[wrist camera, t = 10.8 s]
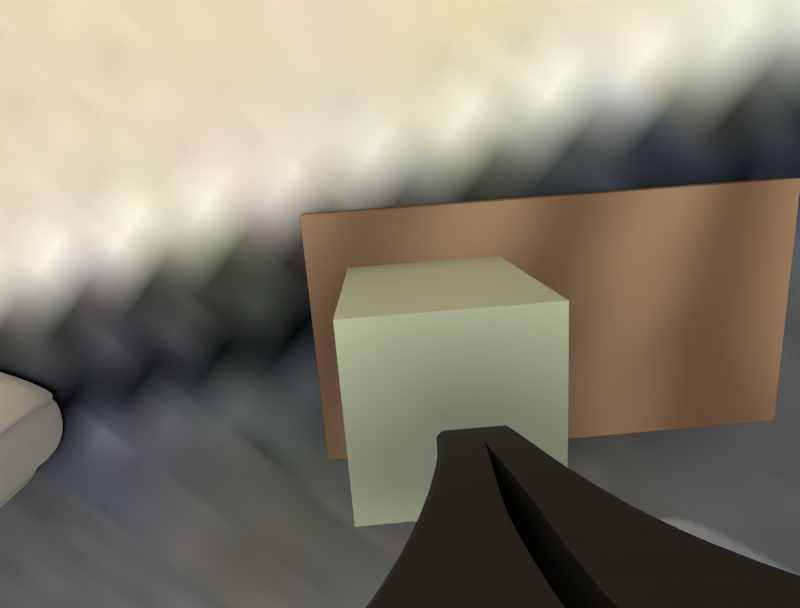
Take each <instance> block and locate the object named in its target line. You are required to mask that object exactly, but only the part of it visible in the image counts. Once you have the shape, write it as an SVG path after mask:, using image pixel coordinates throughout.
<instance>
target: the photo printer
mask: <svg viewBox="0 0 800 608" xmlns="http://www.w3.org/2000/svg"><path fill="white" fill-rule="evenodd" d="M52 398H53V395H52V393H50V392H49V391H48V390H46V389H44V388H42V387H40V386H37V385H35V384H33V383H30V382H28V381H26V380H23V379H20V378H17V377H14V376H11V375H8V374H5V373H2V372H0V507H2V506H3V505H4V504H5V503H6V502H7V501H8V500H9V499H10V498H11V497H13V496H14V495H15V494H16V493H17V492H18V491H19V490H20V489H21V488H23V487H24V486H25V485H26V484H27V483H28V482H29V481H30V480H31V478H32V477H33V476H34V474H35V471H36V469H37V468H38V467H39V466H40V465H41V464H42V463H43V462H44V461H46V460H47V459H48V458H49V457H50V456H51V455H52V454H53V452H54V451H55V450H56V448H57V446H58V445H59V442H60V440H61V436H62V429H63V421H62V416H61V412H60V409H59V407H58V404H57V403H56V402H55V401H54V400H53V399H52Z"/></svg>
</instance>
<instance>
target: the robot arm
mask: <svg viewBox="0 0 800 608" xmlns="http://www.w3.org/2000/svg"><path fill="white" fill-rule="evenodd" d="M436 438H437V455H438V456H437V462H436V467H435V471H434V475H433V478H432V482H431V486H430V489H429V492H428V495H427V498H426V500H425V503H424V505H423V508H422V510H421V513H420V516H419V518H418V521H417V523H416V525H415V527H414V529H413V532H412V534H411V536H410V538H409V540H408V542H407V543H406V545H405V547H404V549H403V551H402V553H401V555H400V556H399V558H398V560H397V562H396V563H395V565H394V566H393V568H392V570H391V571H390V573H389V574H388V576H387V578H386V579H385V581H384V582H383V584H382V586H381V587H380V589H379V590H378V592H377V593H376V594H375V596H374V597H373V599H372V600H371V602H370V603H369V604H368V606H367V607H366V608H800V576H798V575H795V574H792V573H789V572H787V571H784V570H781V569H778V568H775V567H772V566H769V565H766V564H764V563H761V562H758V561H755V560H753V559H750V558H748V557H745V556H743V555H740V554H737V553H735V552H733V551H730V550H727V549H725V548H722V547H720V546H717V545H715V544H712V543H710V542H707V541H705V540H703V539H700V538H698V537H696V536H693V535H691V534H689V533H686V532H684V531H682V530H680V529H678V528H676V527H674V526H672V525H669V524H667V523H665V522H663V521H661V520H659V519H657V518H655V517H653V516H651V515H649V514H647V513H645V512H642V511H641V510H639V509H637V508H635V507H633V506H631V505H629V504H627V503H625V502H624V501H622V500H620V499H618V498H617V497H615V496H613V495H612V494H610V493H608V492H606V491H605V490H603V489H601V488H599V487H598V486H596V485H594V484H593V483H591V482H589V481H588V480H586V479H585V478H583V477H581V476H580V475H578V474H577V473H575V472H574V471H572V470H571V469H569V468H567V467H566V466H565V465H563V464H562V463H560V462H559V461H557V460H556V459H554V458H553V457H551V456H550V455H548V454H547V453H545V452H544V451H543V450H541V449H540V448H538V447H537V446H536V445H534V444H533V443H531V442H530V441H529V440H527V439H526V438H524V437H523V436H522V435H520V434H519V433H517V432H516V431H514V430H513V429H511V428H510V427H508V426H507V425H502V426H490V427H479V428H467V429H456V430H444V431H441V432H440V434H439V435H438V436H437V437H436Z"/></svg>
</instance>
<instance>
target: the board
mask: <svg viewBox="0 0 800 608" xmlns="http://www.w3.org/2000/svg"><path fill="white" fill-rule="evenodd" d="M799 192H800V178H774V179H761V180H748V181H734V182H721V183H708V184H694V185H681V186H668V187H654V188H641V189H627V190H614V191H601V192H587V193H574V194H561V195H547V196H534V197H521V198H507V199H494V200H481V201H467V202H454V203H441V204H427V205H414V206H401V207H387V208H374V209H361V210H347V211H334V212H321V213H307V214H303V215H301V216H300V220H301V229H302V238H303V246H304V255H305V264H306V272H307V281H308V289H309V298H310V307H311V315H312V324H313V333H314V341H315V350H316V358H317V367H318V376H319V384H320V393H321V402H322V410H323V419H324V428H325V436H326V445H327V453H328V460H333V459H344V458H348V457H347V447H346V438H345V428H344V419H343V409H342V400H341V391H340V381H339V372H338V362H337V353H336V343H335V334H334V324H333V318H334V315H335V311H336V308H337V304H338V301H339V297H340V294H341V290H342V287H343V283H344V280H345V276H346V273H347V269H348V268H351V267H364V266H377V265H389V264H402V263H415V262H428V261H441V260H453V259H466V258H479V257H492V256H500V257H502V258H504V259H505V260H507V261H508V262H510V263H511V264H513V265H514V266H516V267H518V268H519V269H521V270H522V271H524V272H525V273H527V274H528V275H530V276H531V277H533V278H535V279H536V280H538V281H539V282H541V283H542V284H544V285H545V286H547V287H549V288H550V289H552V290H553V291H555V292H556V293H558V294H559V295H561V296H563V297H564V298H566V299H567V300H569V370H568V439H570V438H581V437H592V436H603V435H615V434H626V433H637V432H648V431H660V430H671V429H682V428H693V427H705V426H716V425H727V424H738V423H750V422H761V421H772V420H774V417H775V408H776V399H777V390H778V381H779V372H780V363H781V354H782V345H783V336H784V327H785V318H786V309H787V300H788V291H789V282H790V273H791V264H792V255H793V246H794V237H795V228H796V219H797V210H798V201H799Z"/></svg>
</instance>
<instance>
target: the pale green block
mask: <svg viewBox="0 0 800 608" xmlns="http://www.w3.org/2000/svg"><path fill="white" fill-rule="evenodd" d="M333 324H334V334H335V343H336V353H337V362H338V372H339V381H340V391H341V400H342V409H343V419H344V428H345V438H346V447H347V457H348V466H349V476H350V485H351V494H352V504H353V513H354V523H355V527H357V526H367V525H378V524H389V523H400V522H411V521H418V518H419V516H420V513H421V510H422V508H423V505H424V503H425V500H426V498H427V495H428V492H429V489H430V486H431V482H432V478H433V475H434V471H435V467H436V462H437V456H438V455H437V438H436V437H437V436H438V435H439V434H440V432H441V431H444V430H456V429H467V428H479V427H490V426H502V425H507V426H508V427H510V428H511V429H513V430H514V431H516V432H517V433H519V434H520V435H522V436H523V437H524V438H526V439H527V440H529V441H530V442H531V443H533V444H534V445H536V446H537V447H538V448H540V449H541V450H543V451H544V452H545V453H547V454H548V455H550V456H551V457H553V458H554V459H556V460H557V461H559V462H560V463H562V464H563V465H565V466H566V467H567V468H568V370H569V300H567V299H566V298H564V297H563V296H561V295H559V294H558V293H556V292H555V291H553V290H552V289H550V288H549V287H547V286H545V285H544V284H542V283H541V282H539V281H538V280H536V279H535V278H533V277H531V276H530V275H528V274H527V273H525V272H524V271H522V270H521V269H519V268H518V267H516V266H514V265H513V264H511V263H510V262H508V261H507V260H505V259H504V258H502V257H500V256H492V257H479V258H466V259H453V260H441V261H428V262H415V263H402V264H389V265H377V266H364V267H351V268H348V269H347V273H346V276H345V280H344V283H343V287H342V290H341V294H340V297H339V301H338V304H337V308H336V311H335V315H334V318H333Z"/></svg>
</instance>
